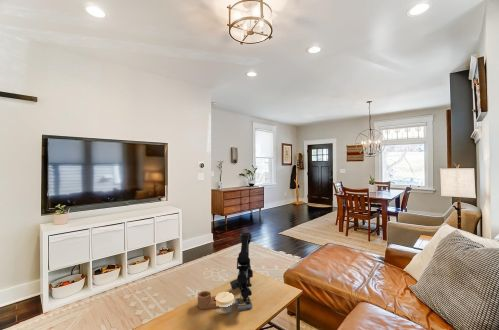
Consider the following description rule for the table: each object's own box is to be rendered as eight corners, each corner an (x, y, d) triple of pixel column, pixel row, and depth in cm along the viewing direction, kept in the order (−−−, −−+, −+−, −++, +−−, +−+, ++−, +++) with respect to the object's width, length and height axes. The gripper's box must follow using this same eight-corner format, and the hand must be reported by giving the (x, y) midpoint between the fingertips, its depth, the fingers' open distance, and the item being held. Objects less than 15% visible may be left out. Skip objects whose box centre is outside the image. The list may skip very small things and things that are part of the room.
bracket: (197, 309, 144) (197, 298, 144) (198, 302, 152) (198, 291, 152) (226, 306, 147) (226, 295, 147) (225, 299, 155) (225, 289, 155)
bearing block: (235, 302, 151) (235, 298, 151) (248, 300, 154) (248, 296, 154) (238, 310, 142) (237, 306, 142) (252, 308, 145) (252, 304, 145)
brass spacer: (239, 300, 150) (239, 291, 150) (246, 299, 151) (246, 290, 151) (240, 304, 145) (240, 294, 145) (247, 303, 146) (247, 293, 146)
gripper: (228, 270, 155) (228, 294, 155) (233, 284, 137) (233, 310, 137) (244, 268, 158) (244, 291, 158) (251, 281, 140) (251, 307, 140)
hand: (243, 299), depth 148 cm, fingers closed on brass spacer, 5 cm apart
